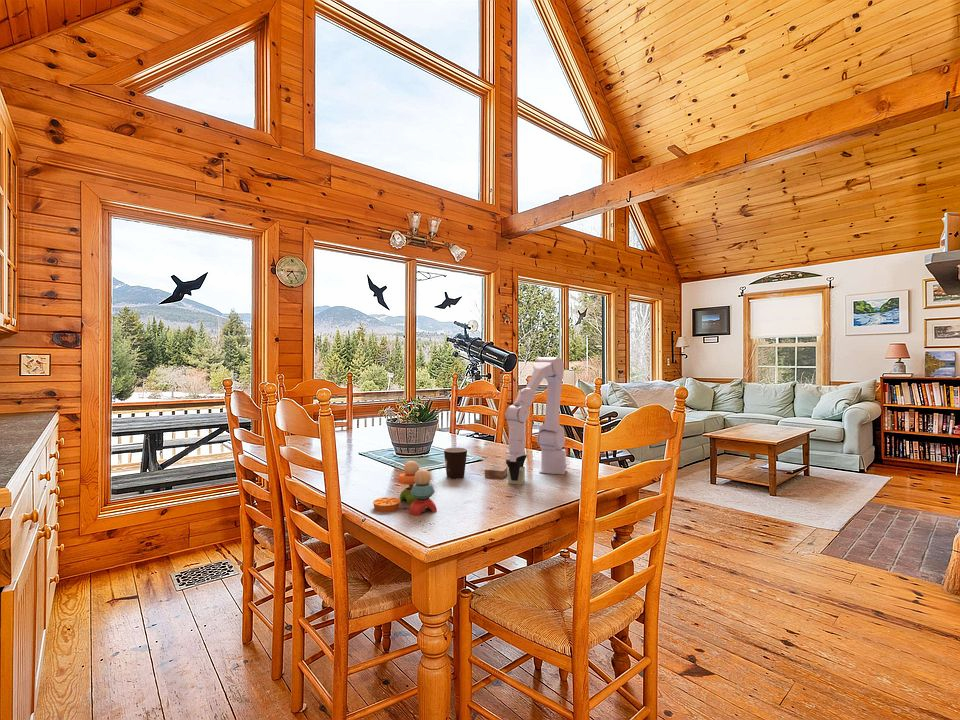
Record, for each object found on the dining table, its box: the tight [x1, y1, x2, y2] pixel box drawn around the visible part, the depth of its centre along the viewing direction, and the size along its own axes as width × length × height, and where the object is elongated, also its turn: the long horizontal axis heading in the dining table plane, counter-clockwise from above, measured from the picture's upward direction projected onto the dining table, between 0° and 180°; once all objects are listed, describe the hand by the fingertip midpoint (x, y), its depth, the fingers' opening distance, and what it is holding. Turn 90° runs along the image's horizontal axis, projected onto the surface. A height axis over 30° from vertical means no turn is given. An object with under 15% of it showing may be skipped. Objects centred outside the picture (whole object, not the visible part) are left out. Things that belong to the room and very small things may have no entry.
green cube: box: [507, 466, 526, 485], centre depth 172 cm, size 5×5×5 cm
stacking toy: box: [372, 460, 438, 517], centre depth 143 cm, size 18×17×12 cm
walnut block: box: [484, 465, 509, 479], centre depth 181 cm, size 7×7×3 cm
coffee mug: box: [443, 446, 468, 480], centre depth 180 cm, size 12×9×10 cm
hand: (516, 477), depth 172 cm, fingers open, 7 cm apart
